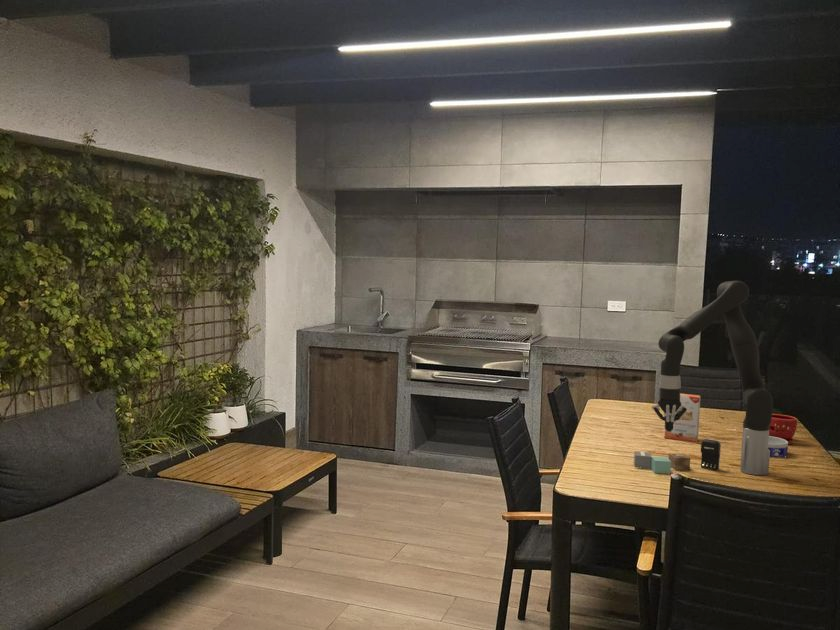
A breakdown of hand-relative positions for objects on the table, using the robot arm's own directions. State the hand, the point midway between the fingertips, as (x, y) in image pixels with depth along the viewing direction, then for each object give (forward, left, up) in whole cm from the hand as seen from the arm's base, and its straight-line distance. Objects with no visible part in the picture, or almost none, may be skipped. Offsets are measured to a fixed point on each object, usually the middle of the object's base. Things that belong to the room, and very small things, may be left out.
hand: (668, 431), depth 272 cm
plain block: (+3, +1, -16) cm, 16 cm away
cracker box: (-21, -53, -16) cm, 59 cm away
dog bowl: (-52, -35, -16) cm, 64 cm away
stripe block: (+8, -5, -16) cm, 18 cm away
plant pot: (-66, -56, -16) cm, 88 cm away
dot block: (-6, -5, -16) cm, 17 cm away
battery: (-18, -6, -16) cm, 24 cm away
